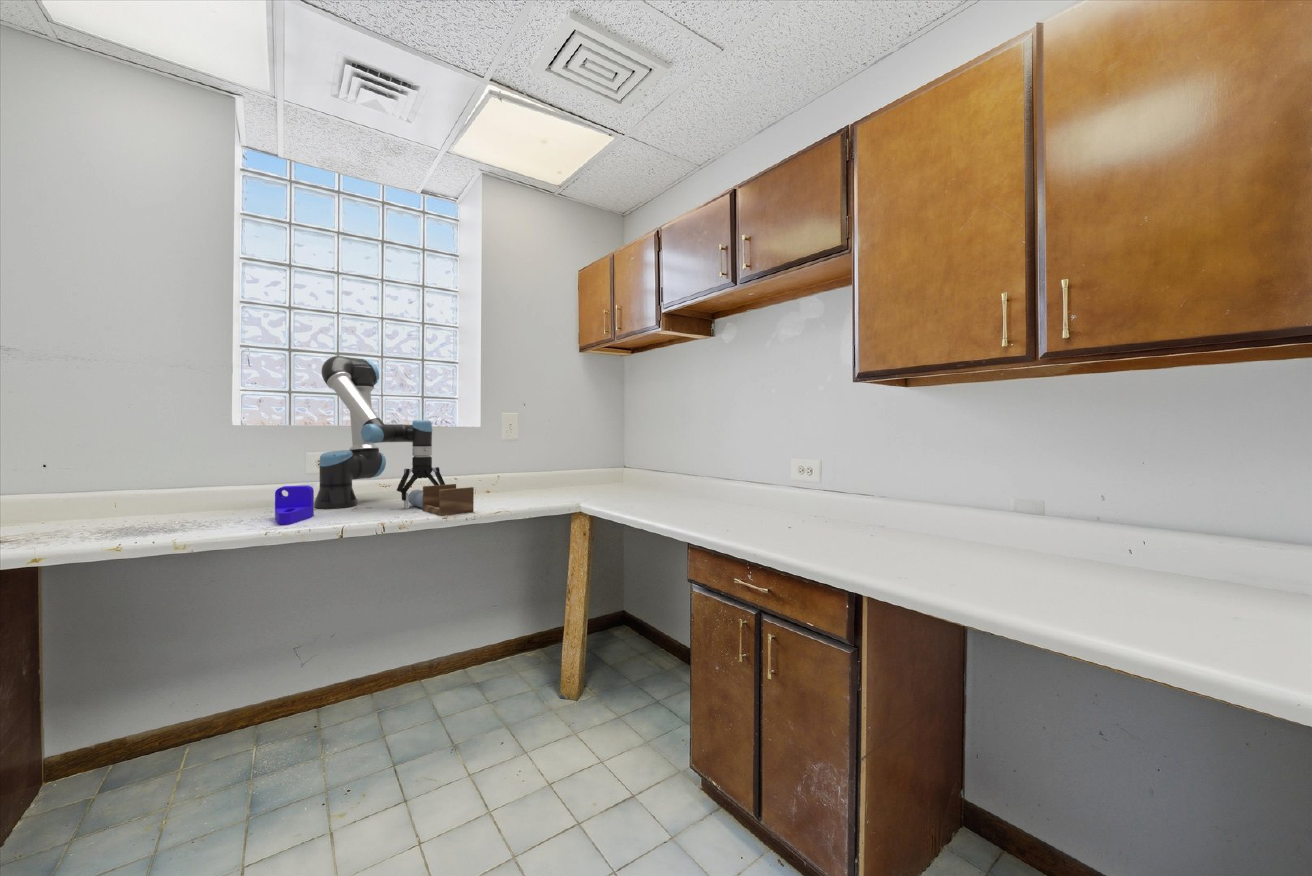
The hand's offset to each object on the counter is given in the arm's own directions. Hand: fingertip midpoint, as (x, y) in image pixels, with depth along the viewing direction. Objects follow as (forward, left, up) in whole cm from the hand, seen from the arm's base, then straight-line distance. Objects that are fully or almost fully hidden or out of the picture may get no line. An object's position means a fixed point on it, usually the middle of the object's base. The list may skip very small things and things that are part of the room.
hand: (422, 506), depth 210 cm
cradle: (+18, +3, 0) cm, 18 cm away
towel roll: (0, 0, 0) cm, 0 cm away
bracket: (-1, -46, -1) cm, 46 cm away
